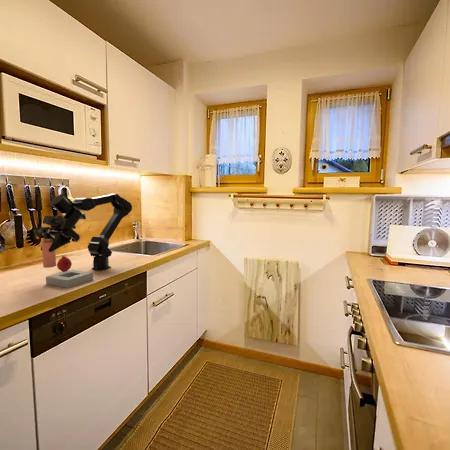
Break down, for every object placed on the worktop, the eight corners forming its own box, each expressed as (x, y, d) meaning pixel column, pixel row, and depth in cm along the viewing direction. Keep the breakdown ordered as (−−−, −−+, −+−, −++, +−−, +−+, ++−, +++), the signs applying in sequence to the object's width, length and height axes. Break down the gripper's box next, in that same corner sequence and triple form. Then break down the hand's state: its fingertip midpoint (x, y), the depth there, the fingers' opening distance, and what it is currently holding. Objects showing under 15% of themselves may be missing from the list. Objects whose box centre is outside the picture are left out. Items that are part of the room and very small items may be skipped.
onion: (69, 269, 130) (68, 253, 129) (74, 272, 126) (73, 255, 125) (55, 272, 125) (54, 255, 124) (60, 274, 122) (59, 257, 121)
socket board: (72, 276, 119) (72, 269, 119) (93, 279, 115) (92, 272, 115) (46, 283, 108) (45, 276, 108) (67, 287, 104) (66, 280, 104)
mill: (49, 264, 112) (47, 238, 110) (58, 265, 111) (57, 238, 110) (40, 267, 107) (38, 240, 106) (50, 267, 107) (48, 240, 105)
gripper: (40, 207, 114) (14, 237, 105) (71, 208, 106) (45, 240, 98) (59, 224, 122) (36, 253, 113) (89, 226, 114) (66, 257, 106)
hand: (45, 250), depth 107 cm, fingers closed on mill, 4 cm apart
